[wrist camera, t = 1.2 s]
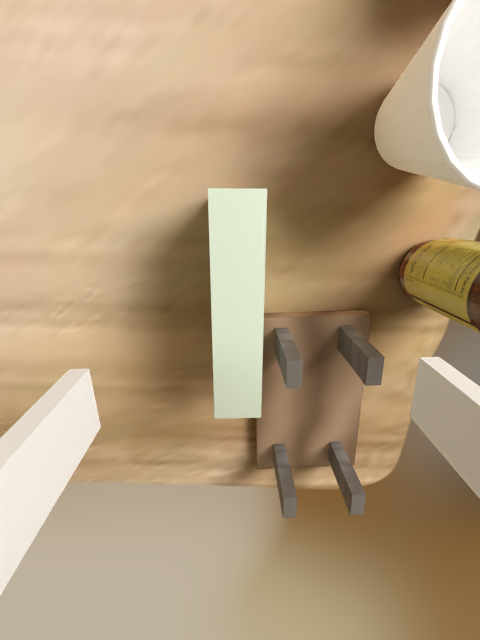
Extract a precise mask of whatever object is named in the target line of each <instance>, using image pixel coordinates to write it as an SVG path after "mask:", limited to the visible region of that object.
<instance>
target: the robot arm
mask: <svg viewBox="0 0 480 640" xmlns="http://www.w3.org/2000/svg"><path fill="white" fill-rule="evenodd" d="M410 417H411V418H412V419H413V421H414V422H415V423H416V424H417V425H418V426H419V428H420V429H421V430H422V431H423V432H424V433H425V435H426V436H427V437H428V438H429V439H430V441H431V442H432V443H433V444H434V445H435V446H436V448H437V449H438V450H439V451H440V452H441V454H442V455H443V456H444V457H445V458H446V459H447V461H448V462H449V463H450V464H451V465H452V466H453V468H454V469H455V470H456V471H457V472H458V474H459V475H460V476H461V477H462V478H463V479H464V481H465V482H466V483H467V484H468V485H469V487H470V488H471V489H472V490H473V491H474V492H475V494H476V495H477V496H478V497H479V498H480V386H478V385H476V384H475V383H474V382H473V381H471V380H470V379H469V378H467V377H466V376H464V375H463V374H461V373H460V372H459V371H457V370H456V369H455V368H453V367H452V366H451V365H449V364H448V363H446V362H445V361H444V360H442V359H441V358H440V357H422V358H420V359H419V365H418V371H417V377H416V382H415V388H414V394H413V400H412V405H411V411H410ZM100 427H101V426H100V421H99V416H98V411H97V406H96V401H95V396H94V391H93V386H92V381H91V376H90V371H89V369H69V370H68V371H67V372H66V373H65V374H64V375H63V376H62V377H61V378H60V379H59V380H58V381H57V382H56V383H55V384H54V385H53V386H52V387H51V388H50V389H49V390H48V391H47V392H46V393H45V394H44V395H43V396H42V397H41V398H40V399H39V400H38V401H37V402H36V403H35V404H34V405H33V406H32V407H31V408H30V409H29V410H28V411H27V412H26V413H25V414H24V415H23V416H22V417H21V418H20V419H19V420H18V421H17V422H16V423H15V424H14V425H13V426H12V427H11V428H10V429H9V430H8V431H7V432H6V433H5V434H4V435H3V436H2V437H1V438H0V595H1V593H2V592H3V590H4V589H5V587H6V585H7V584H8V582H9V580H10V579H11V577H12V575H13V573H14V572H15V570H16V568H17V567H18V565H19V563H20V562H21V560H22V558H23V556H24V555H25V553H26V552H27V550H28V548H29V547H30V545H31V543H32V542H33V540H34V538H35V536H36V535H37V533H38V532H39V530H40V528H41V526H42V525H43V523H44V521H45V520H46V518H47V516H48V515H49V513H50V511H51V510H52V508H53V506H54V504H55V503H56V501H57V500H58V498H59V496H60V495H61V493H62V491H63V490H64V488H65V486H66V484H67V483H68V481H69V479H70V478H71V476H72V474H73V473H74V471H75V469H76V468H77V466H78V464H79V463H80V461H81V459H82V458H83V456H84V454H85V453H86V451H87V449H88V448H89V446H90V444H91V443H92V441H93V439H94V438H95V436H96V434H97V432H98V431H99V429H100Z"/></svg>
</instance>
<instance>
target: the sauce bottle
mask: <svg viewBox="0 0 480 640" xmlns="http://www.w3.org/2000/svg"><path fill="white" fill-rule="evenodd" d="M399 279H400V282H401V285H402V287H403V290H404V292H405V293H406V294H407V295H408V296H409V297H411V298H413V299H414V300H415V301H416V302H418V303H420V304H421V305H423V306H425V307H427V308H429V309H432V310H433V311H435V312H437V313H440V314H442V315H444V316H446V317H448V318H450V319H452V320H455V321H456V322H459V323H461V324H463V325H465V326H467V327H469V328H471V329H473V330H475V331H477V332H479V333H480V242H479V241H470V240H461V239H451V238H440V239H436V240H429V241H426V242H423V243H421V244H419V245H417V246H415V247H414V248H413V249H412V250H411V251H410V252H409V253H408V254H407V256H406V257H405V259H404V260H403V263H402V265H401V266H400V269H399Z"/></svg>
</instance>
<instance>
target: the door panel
mask: <svg viewBox="0 0 480 640" xmlns="http://www.w3.org/2000/svg"><path fill="white" fill-rule="evenodd" d="M208 213H209V247H210V281H211V315H212V349H213V383H214V417H215V418H261V402H262V365H263V328H264V290H265V253H266V216H267V189H225V188H208Z"/></svg>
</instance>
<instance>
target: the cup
mask: <svg viewBox="0 0 480 640" xmlns="http://www.w3.org/2000/svg"><path fill="white" fill-rule="evenodd" d="M374 139H375V143H376V147H377V150H378V152H379V154H380V155H381V157H382V159H383V160H384V161H386V162H387V163H388V164H389V165H390V166H392V167H394V168H396V169H398V170H402V171H406V172H410V173H414V174H418V175H422V176H425V177H429V178H433V179H437V180H441V181H445V182H449V183H452V184H456V185H460V186H464V187H468V188H472V189H476V190H479V191H480V0H452V2H451V3H450V5H449V6H448V8H447V9H446V10H445V12H444V13H443V15H442V16H441V18H440V19H439V21H438V22H437V24H436V25H435V27H434V28H433V29H432V31H431V32H430V34H429V35H428V37H427V38H426V40H425V41H424V43H423V44H422V45H421V47H420V48H419V50H418V51H417V53H416V54H415V56H414V57H413V59H412V60H411V62H410V63H409V64H408V66H407V67H406V69H405V70H404V72H403V73H402V75H401V76H400V78H399V79H398V81H397V82H396V83H395V85H394V86H393V88H392V89H391V91H390V92H389V94H388V95H387V97H386V98H385V100H384V101H383V103H382V105H381V107H380V109H379V111H378V113H377V116H376V121H375V125H374Z"/></svg>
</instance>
